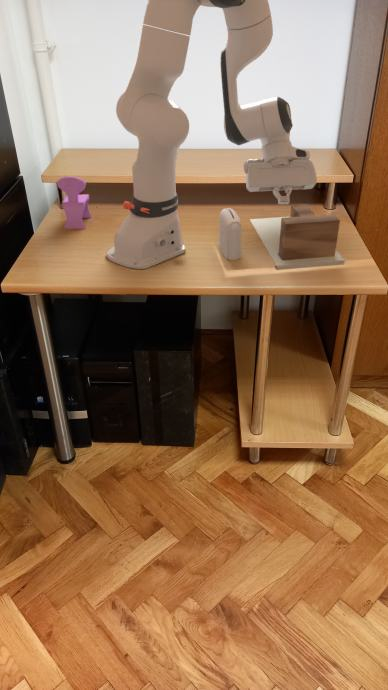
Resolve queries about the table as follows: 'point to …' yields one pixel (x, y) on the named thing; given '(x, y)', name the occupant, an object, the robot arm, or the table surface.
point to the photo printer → (230, 234)
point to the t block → (307, 234)
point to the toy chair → (74, 201)
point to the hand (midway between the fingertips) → (284, 203)
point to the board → (271, 238)
